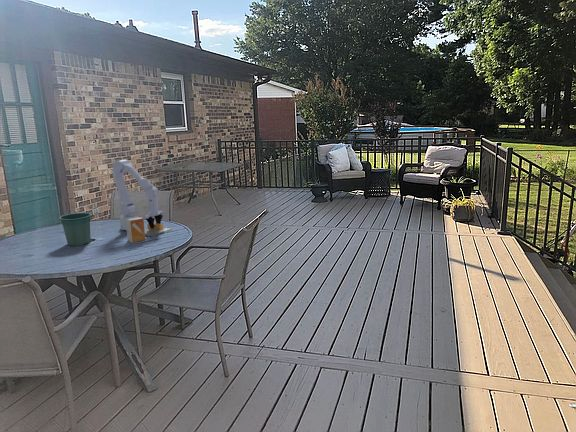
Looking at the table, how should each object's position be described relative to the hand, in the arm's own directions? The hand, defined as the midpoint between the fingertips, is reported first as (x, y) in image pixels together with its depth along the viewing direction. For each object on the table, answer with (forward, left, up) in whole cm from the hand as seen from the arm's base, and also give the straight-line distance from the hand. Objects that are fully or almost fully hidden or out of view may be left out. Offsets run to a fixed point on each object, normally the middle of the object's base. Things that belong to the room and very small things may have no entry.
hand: (155, 227), depth 279 cm
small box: (+7, -24, -2) cm, 25 cm away
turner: (+3, 0, -2) cm, 3 cm away
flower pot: (-21, -40, -2) cm, 45 cm away
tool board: (+1, -10, -1) cm, 10 cm away
